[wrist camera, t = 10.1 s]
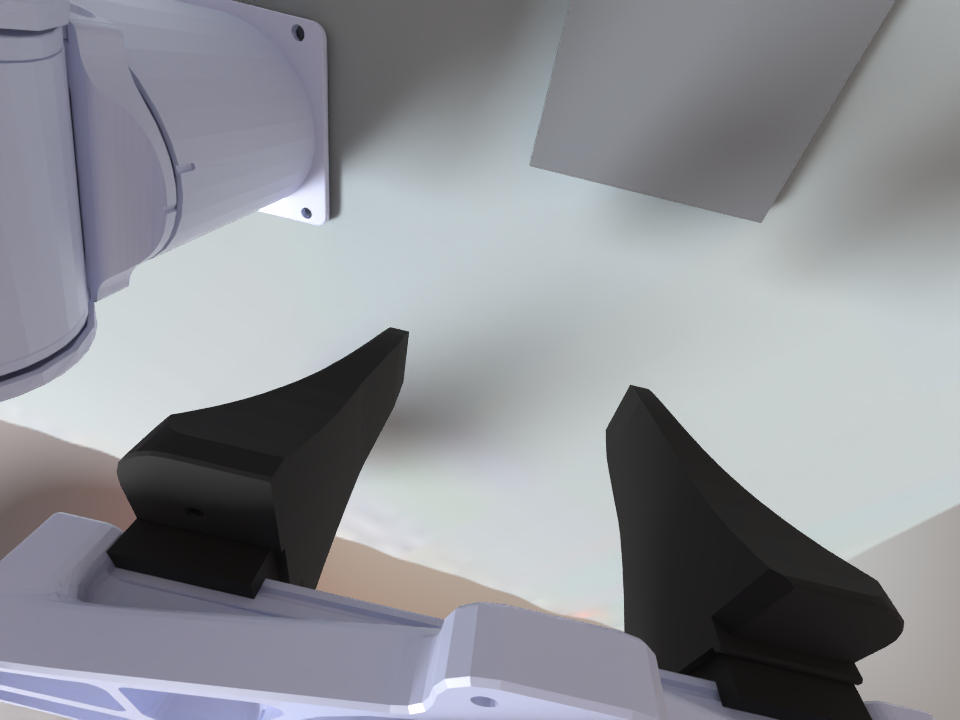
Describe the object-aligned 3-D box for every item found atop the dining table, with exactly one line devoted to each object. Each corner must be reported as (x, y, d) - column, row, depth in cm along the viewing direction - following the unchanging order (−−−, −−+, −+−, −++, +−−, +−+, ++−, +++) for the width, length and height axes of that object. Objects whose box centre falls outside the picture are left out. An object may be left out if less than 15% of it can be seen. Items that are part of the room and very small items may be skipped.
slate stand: (530, 161, 18) (529, 165, 17) (620, -200, 12) (627, -224, 11) (749, 215, 18) (761, 222, 17) (941, -116, 12) (976, -134, 11)
